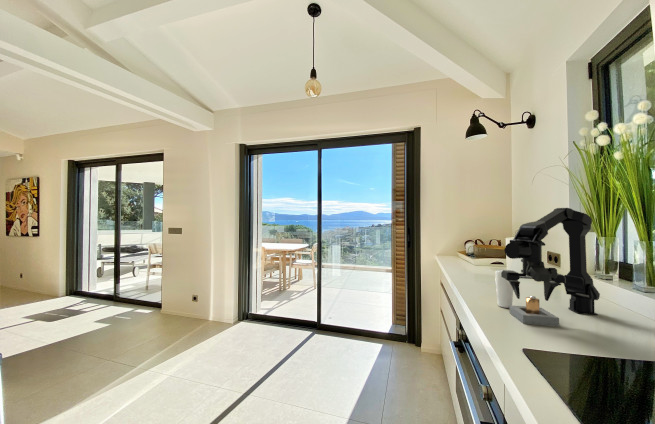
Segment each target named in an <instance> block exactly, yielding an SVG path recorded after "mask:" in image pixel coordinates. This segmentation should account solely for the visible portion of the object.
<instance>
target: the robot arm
mask: <svg viewBox="0 0 655 424" xmlns="http://www.w3.org/2000/svg"><path fill="white" fill-rule="evenodd" d="M559 224H562V229H563V231H564V232H566V234H567V236H568V248H569V249H568V251H569V252H568V253H569V271H568V273H567V274H561V273H558V269H557V268H556V267H545V263H544V261H543V260H542V258H543V255H542V254H543V252H542V251H543V248H542V247H543V246H544V247H545V246H546V243H545V242H544V241H542V240H543V239H545V237H547V236H548V235H549V231H550V230H551V229H552V228H554V227H556V226H557V225H559ZM592 224H593V220H592V217H591V216H589V215H588V214H587V213H585V212H580V211H578V210H574V209H572V208H569V207H557V208H554V209H553V211H550V212H549V213H548V214H546V215H544V216H543V217H541V218H539V219H537V220H535V221H530V222H526V223H522V224H521V225H520V227H519V229H518V230H517V232H516V233H515V235H514V237H513V239H509V243H507V244H506V245H505V247H504V254H505V255H506V257H507V258H509V259H512V260H515V259H520V262H521V263H522V269H521V270H520V273H519V272H517V271H514V270H508V269H502V270H503V271H502V273H501V277H503V278H504V279H505V280H507V281H509V283H510V284H511V286H512V288H513V293H514V295H515V296H516V298H517V300H520V297H521V296H520V295H521V293H520V284H521V281H519V280H520V279H527V280H528V279H531V280H534V282H540V283H541V282H543V295H544V300H545V302H546V301H547V302H548V301H549V300H550V298H551V296H552V293H553V292H554V289H555V288H557V287H559V286H562V284H563V285H564V290H565V293H566V295H569V296H570V298H569V307H568V310H570V311H573V312H574V313H577V314H579V315H592V316H593V315H594V316H598V313H596V311H595V301H598V300H599V299H600V296H601V293H600V292H599V291H598V289H597V287H595V285H594V280H593V278H592V276H591V275H590V274H589V273H588V271H587V270H588V269H587V268H588V267H587V250H586V249H587V247H586V246H587V244H586V243H587V242H586V237H587V235H588V233H589V232H590V231H591V229H592Z"/></svg>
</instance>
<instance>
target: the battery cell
mask: <svg viewBox="0 0 655 424" xmlns="http://www.w3.org/2000/svg"><path fill="white" fill-rule="evenodd" d="M525 307H526V313H527V314H540V312H539V308H540V299H539V298H537V297H536V296H535V295H529V296H527V297H525Z"/></svg>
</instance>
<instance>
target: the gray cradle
mask: <svg viewBox="0 0 655 424" xmlns="http://www.w3.org/2000/svg"><path fill="white" fill-rule="evenodd" d="M539 312H540V314H527V313H526V305H525V306H522V305H513V304H512V305H510V308H509V314H511V316H513V317H514V318H515V319H516V320H518V321H519V322H520V323H522V324H524V325H525V324H527V325H535V326H547V327H548V326H549V327H558V328H559V327H560V318H559V316H556V315H555V314H554V313H551V312H550V311H548V310H546V309H544V308H542V307H539Z"/></svg>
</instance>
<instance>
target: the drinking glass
mask: <svg viewBox="0 0 655 424" xmlns="http://www.w3.org/2000/svg"><path fill="white" fill-rule="evenodd" d="M503 270H504V269H496V270H495V272H494V279H495V290H496V302H497V305H498V307H500V308H505V309H510V305H512V306H513V301H514V299H513V297H514V290H513V288H512V286H511V284H510V283H509V281H507V280H505V279H504V278H503V277H501V273H502V271H503Z"/></svg>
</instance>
